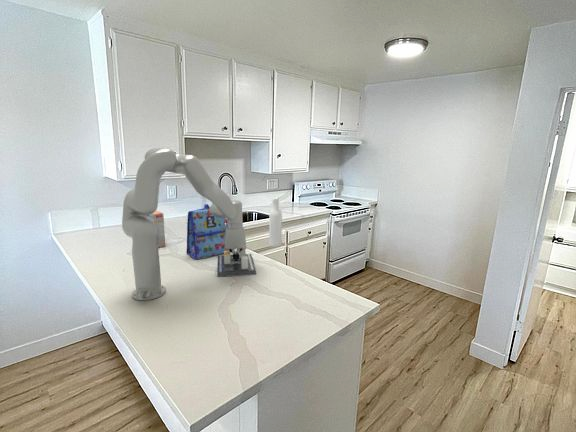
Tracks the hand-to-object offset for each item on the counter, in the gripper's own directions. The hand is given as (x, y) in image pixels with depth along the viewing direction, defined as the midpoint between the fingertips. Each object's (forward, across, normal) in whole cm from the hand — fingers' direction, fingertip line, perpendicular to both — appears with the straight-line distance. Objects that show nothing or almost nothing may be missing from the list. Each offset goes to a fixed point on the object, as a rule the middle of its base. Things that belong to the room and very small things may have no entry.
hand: (236, 260), depth 154 cm
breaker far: (+1, +4, +8) cm, 9 cm away
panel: (+3, 0, 0) cm, 3 cm away
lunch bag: (+3, -14, +23) cm, 27 cm away
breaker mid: (+1, -4, 0) cm, 4 cm away
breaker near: (+1, +4, -8) cm, 9 cm away
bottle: (+3, +26, +31) cm, 40 cm away
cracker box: (+3, -46, +45) cm, 65 cm away
